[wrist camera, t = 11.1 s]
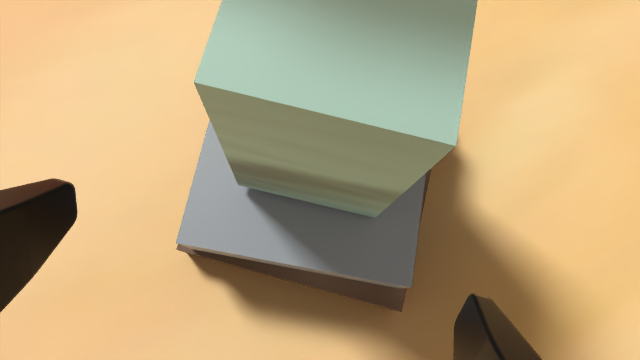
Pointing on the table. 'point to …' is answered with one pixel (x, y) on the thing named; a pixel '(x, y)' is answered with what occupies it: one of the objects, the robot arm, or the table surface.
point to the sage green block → (336, 94)
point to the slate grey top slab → (298, 227)
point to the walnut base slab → (321, 277)
